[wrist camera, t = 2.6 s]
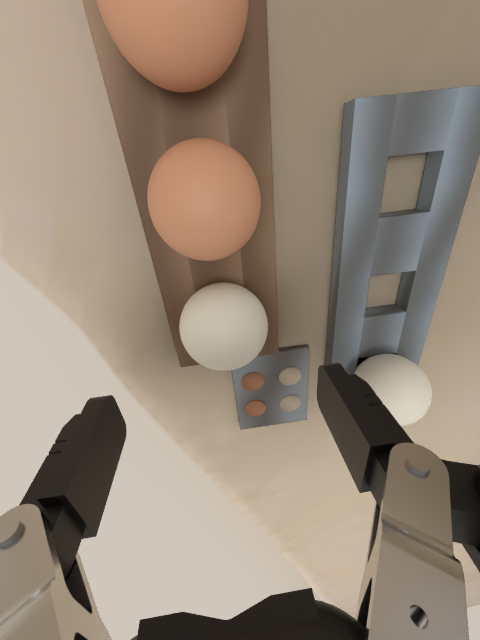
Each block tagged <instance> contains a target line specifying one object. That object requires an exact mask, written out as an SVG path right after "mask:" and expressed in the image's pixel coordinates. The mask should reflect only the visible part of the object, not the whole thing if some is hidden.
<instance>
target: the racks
mask: <svg viewBox="0 0 480 640" xmlns="http://www.w3.org/2000/svg"><path fill="white" fill-rule="evenodd" d="M82 1H83V4H84V8H85V12H86V15H87V19H88V23H89V27H90V30H91V34H92V38H93V42H94V45H95V49H96V53H97V56H98V60H99V64H100V68H101V71H102V75H103V79H104V83H105V86H106V90H107V94H108V97H109V101H110V105H111V109H112V112H113V116H114V120H115V123H116V127H117V131H118V135H119V138H120V142H121V146H122V150H123V153H124V157H125V161H126V164H127V168H128V172H129V176H130V179H131V183H132V187H133V191H134V194H135V198H136V202H137V205H138V209H139V213H140V217H141V220H142V224H143V228H144V232H145V235H146V239H147V243H148V246H149V250H150V254H151V258H152V261H153V265H154V269H155V272H156V276H157V280H158V284H159V287H160V291H161V295H162V299H163V302H164V306H165V310H166V313H167V317H168V321H169V325H170V328H171V332H172V336H173V340H174V343H175V347H176V351H177V354H178V358H179V362H180V366H181V367H184V366H191V365H198V364H199V363H198V362H196V361H195V360H194V359H193V358H192V357H191V356H190V355H189V354H188V352H187V351H186V349H185V347H184V345H183V343H182V340H181V336H180V331H179V324H180V317H181V314H182V310H183V308H184V306H185V304H186V303H187V301H188V300H189V299H190V298H191V296H192V295H193V294H195V293H196V292H197V291H198V290H200V289H202V288H203V287H205V286H208V285H211V284H214V283H223V282H224V283H233V284H237V285H240V286H243V287H244V288H246V289H248V290H249V291H250V292H252V293H253V294H254V295H255V296H256V297H257V298H258V299H259V301H260V302H261V304H262V305H263V307H264V310H265V312H266V316H267V321H268V333H267V338H266V341H265V344H264V346H263V348H262V350H261V351H260V353H259V354H258V355H257V356H256V357H255V358H254V359H253V360H252V361H251V362H250V363H248V364H247V365H245V366H243V367H241V368H238V369H235V370H232V375H233V381H234V388H235V395H236V402H237V408H238V415H239V422H240V429H248V428H255V427H261V426H268V425H275V424H281V423H288V422H295V421H301V420H307V394H308V365H309V347H308V345H301V346H294V347H287V348H280V349H278V323H277V294H276V265H275V237H274V208H273V180H272V151H271V123H270V94H269V66H268V37H267V8H266V0H249V2H248V14H247V20H246V26H245V30H244V34H243V38H242V41H241V43H240V46H239V48H238V51H237V53H236V55H235V57H234V59H233V61H232V63H231V64H230V66H229V67H228V68H227V70H226V71H225V72H224V73H223V74H222V75H221V77H220V78H218V79H217V80H216V81H215V82H214V83H212V84H211V85H209V86H207V87H205V88H203V89H200V90H197V91H193V92H174V91H170V90H167V89H163V88H161V87H159V86H157V85H155V84H153V83H152V82H150V81H149V80H147V79H146V78H145V77H143V76H142V75H141V74H140V73H139V72H138V71H137V70H136V69H135V68H134V67H133V66H132V65H131V64H130V63H129V62H128V61H127V60H126V58H125V57H124V56H123V54H122V53H121V52H120V50H119V49H118V47H117V45H116V44H115V42H114V41H113V39H112V37H111V35H110V33H109V31H108V29H107V27H106V25H105V23H104V21H103V18H102V16H101V13H100V11H99V7H98V4H97V1H96V0H82ZM193 138H209V139H214V140H218V141H221V142H223V143H225V144H227V145H229V146H230V147H232V148H234V149H235V150H236V151H237V152H239V153H240V154H241V155H242V156H243V157H244V158H245V160H246V161H247V162H248V164H249V165H250V166H251V168H252V170H253V172H254V174H255V176H256V179H257V181H258V185H259V189H260V195H261V210H260V216H259V220H258V223H257V226H256V228H255V231H254V232H253V234H252V236H251V237H250V239H249V240H248V242H247V243H246V244H245V245H244V246H243V247H242V248H241V249H239V250H238V251H237V252H235V253H234V254H232V255H230V256H228V257H226V258H222V259H219V260H214V261H200V260H195V259H191V258H188V257H186V256H184V255H182V254H180V253H178V252H177V251H175V250H174V249H172V248H171V247H170V246H169V245H168V244H167V243H166V242H165V241H164V240H163V239H162V238H161V236H160V235H159V234H158V232H157V230H156V229H155V227H154V224H153V222H152V220H151V217H150V213H149V208H148V199H147V192H148V184H149V179H150V176H151V173H152V171H153V169H154V167H155V165H156V163H157V162H158V160H159V159H160V157H161V156H162V155H163V154H164V153H165V152H166V151H167V150H169V149H170V148H171V147H172V146H174V145H176V144H178V143H179V142H182V141H185V140H188V139H193ZM424 152H428V155H427V159H426V164H425V169H424V174H423V178H422V183H421V188H420V193H419V197H418V202H417V207H416V209H413V210H405V211H397V212H389V213H381V214H380V207H381V200H382V194H383V187H384V180H385V173H386V167H387V160H388V157H389V156H398V155H407V154H415V153H424ZM479 154H480V85H477V86H467V87H458V88H449V89H440V90H430V91H421V92H412V93H403V94H393V95H384V96H375V97H365V98H356V99H353V100H351V101H349V102H347V103H345V104H344V113H343V126H342V140H341V154H340V167H339V181H338V194H337V208H336V221H335V235H334V249H333V262H332V276H331V289H330V303H329V316H328V330H327V344H326V357H325V365H327V364H334V363H340V364H341V365H342V366H343V368H344V369H345V371H346V372H347V374H348V375H353V374H354V372H355V370H356V368H357V361H358V358H363V357H370V356H375V355H379V354H395V355H399V356H402V357H405V358H407V359H409V360H411V361H412V362H414V363H415V364H417V365H418V362H419V359H420V355H421V352H422V348H423V345H424V342H425V338H426V335H427V331H428V328H429V324H430V321H431V318H432V314H433V311H434V307H435V304H436V301H437V297H438V294H439V290H440V287H441V284H442V280H443V277H444V273H445V270H446V266H447V263H448V260H449V256H450V253H451V249H452V246H453V243H454V239H455V236H456V232H457V229H458V225H459V222H460V219H461V215H462V212H463V208H464V205H465V202H466V198H467V195H468V191H469V188H470V185H471V181H472V178H473V174H474V171H475V167H476V164H477V161H478V157H479ZM401 272H403V273H402V278H401V283H400V287H399V292H398V297H397V301H396V304H395V305H387V306H380V307H373V308H365V307H366V301H367V294H368V287H369V281H370V277H371V276H378V275H386V274H393V273H401Z"/></svg>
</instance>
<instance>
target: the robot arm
mask: <svg viewBox="0 0 480 640" xmlns="http://www.w3.org/2000/svg"><path fill="white" fill-rule="evenodd" d="M317 400H318V405H319V408H320V410H321V412H322V414H323V417H324V419H325V421H326V423H327V425H328V427H329V429H330V431H331V433H332V436H333V438H334V440H335V442H336V444H337V446H338V448H339V450H340V452H341V454H342V457H343V459H344V461H345V463H346V465H347V467H348V469H349V471H350V473H351V475H352V478H353V480H354V482H355V484H356V486H357V488H358V490H359V492H360V493H362V492H368V491H371V492H372V494H373V496H374V498H375V500H376V503H375V508H374V515H373V521H372V527H371V534H370V540H369V546H368V553H367V559H366V565H365V571H364V575H363V580H362V585H361V590H360V595H359V601H358V607H357V613H356V619H355V618H353V617H352V616H350V615H349V614H347V613H346V612H345V611H343V610H341V609H339V608H337V607H335V606H333V605H331V604H328V603H325V602H323V601H318V600H315V599H314V595H313V591H312V588H309V589H303V590H298V591H292V592H287V593H282V594H277V595H271V596H269V597H267V598H266V599H264V600H262V601H261V602H259V603H257V604H256V605H254V606H252V607H250V608H249V609H247V610H246V611H244V612H242V613H240V614H239V615H237V616H235V617H234V618H232V619H229V620H221V619H216V618H211V617H206V616H201V615H196V614H191V613H186V612H180V613H174V614H170V615H164V616H159V617H153V618H148V619H142V620H140V624H139V630H138V635H137V636H135V637H134V638H132V639H131V640H469V632H468V619H467V606H466V593H465V580H464V573H463V568H462V565H461V563H460V561H459V560H458V559H456V558H455V556H454V553H453V542H457V543H462V545H463V546H464V548H465V550H466V551H467V553H468V554H469V556H470V557H471V559H472V561H473V562H474V564H475V565H476V567H477V569H478V570H479V572H480V465H479V466H478V465H472V464H465V463H458V462H451V461H446V460H442V459H440V458H439V457H438V456H437V455H436V454H434V453H433V452H432V451H430V450H429V449H427V448H425V447H423V446H420V445H418V444H414V443H413V441H412V440H411V439H410V438H409V436H408V435H407V434H406V432H405V431H404V430H403V428H402V427H401V426H400V425H399V423H398V422H397V421H396V419H395V418H394V417H393V415H392V414H391V413H390V411H389V410H388V409H387V407H386V406H385V405H383V402H382V401H381V400H380V398H379V397H378V396H376V393H375V392H374V390H373V389H372V388H371V386H370V385H369V384H368V382H366V381H365V380H363V379H362V378H360V377H359V376H357V375H356V374H353V375H348V374H347V372H346V371H345V369H344V368H343V366H342V365H341V364H340V363H334V364H327V365H321V366H319V369H318V384H317ZM125 438H126V424H125V421H124V419H123V416H122V414H121V412H120V410H119V407H118V405H117V403H116V401H115V398H114V397H113V396H111V395H110V396H103V397H96V398H90V399H89V400H88V401H87V403H86V405H85V406H84V409H83V410H82V412H81V414H78V415H75V416H74V417H73V418H72V419H71V420H70V421H69V422H68V423H67V424H66V425H65V426H64V427H63V428H62V430H61V432H60V434H59V435H58V437H57V439H56V441H55V444H53V446H52V448H51V450H50V451H49V455H48V456H47V457H46V459H45V460H44V462H43V464H42V466H41V467H40V469H39V471H38V473H37V475H36V476H35V478H34V480H33V482H32V484H31V485H30V487H29V489H28V491H27V493H26V494H25V496H24V498H23V500H22V501H21V503H20V505H19V506H17V507H15V508H13V509H11V510H9V511H7V512H6V513H4V514H3V515H2V516H1V517H0V640H112V639H111V637H110V635H109V633H108V631H107V629H106V627H105V626H104V624H103V622H102V621H101V618H100V616H99V613H98V611H97V607H96V605H95V601H94V598H93V595H92V592H91V589H90V586H89V583H88V580H87V577H86V574H85V571H84V568H83V565H82V562H81V559H80V556H79V554H78V552H77V551H78V548H79V545H80V542H81V539H84V538H90V537H95V536H96V534H97V531H98V528H99V525H100V521H101V518H102V515H103V512H104V508H105V505H106V501H107V498H108V495H109V492H110V488H111V485H112V482H113V478H114V475H115V471H116V469H117V465H118V462H119V459H120V455H121V452H122V448H123V445H124V442H125Z"/></svg>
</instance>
